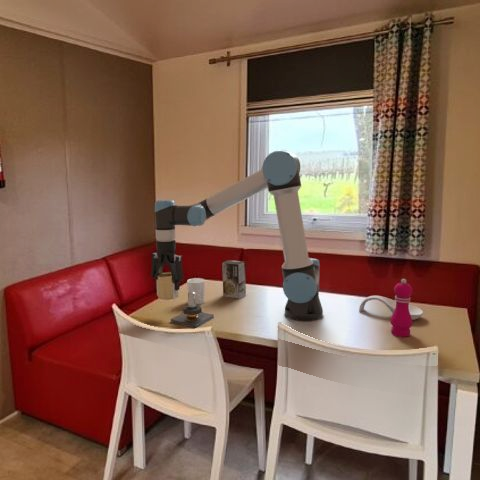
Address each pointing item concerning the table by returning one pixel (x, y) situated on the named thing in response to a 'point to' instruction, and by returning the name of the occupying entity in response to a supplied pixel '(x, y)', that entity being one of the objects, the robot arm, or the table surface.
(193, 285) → the white cup
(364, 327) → the table surface
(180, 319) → the pipe stand
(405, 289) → the pepper mill
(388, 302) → the white curved piece
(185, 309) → the ring
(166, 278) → the sleeve
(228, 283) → the coffee box
